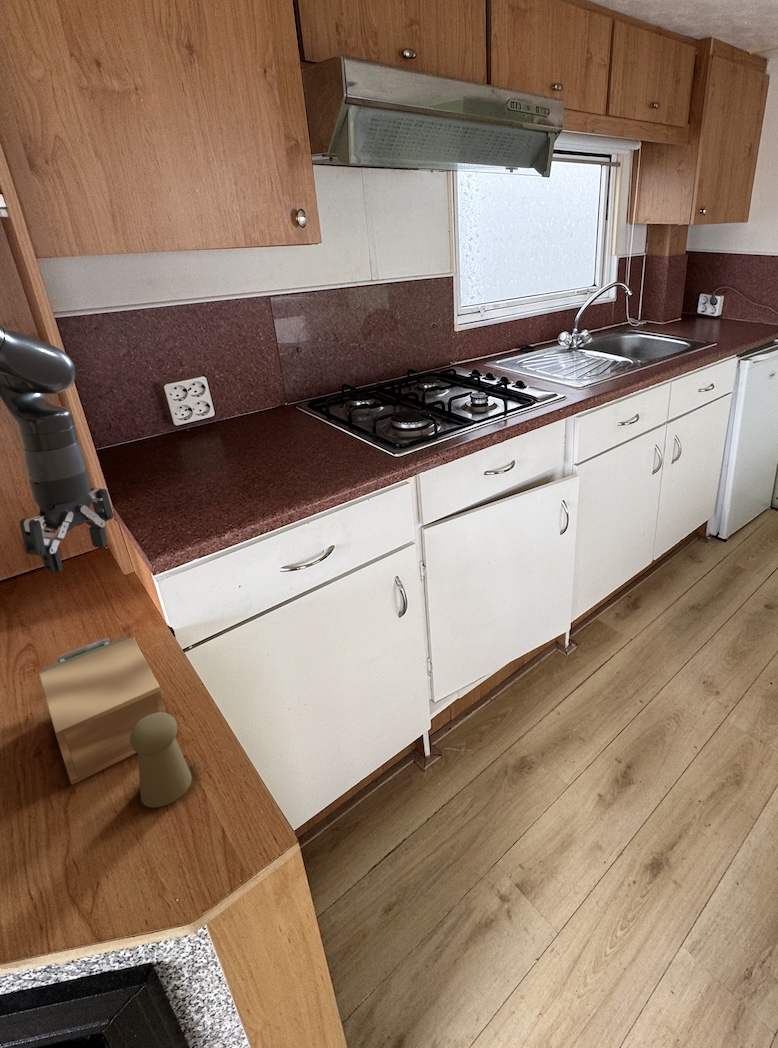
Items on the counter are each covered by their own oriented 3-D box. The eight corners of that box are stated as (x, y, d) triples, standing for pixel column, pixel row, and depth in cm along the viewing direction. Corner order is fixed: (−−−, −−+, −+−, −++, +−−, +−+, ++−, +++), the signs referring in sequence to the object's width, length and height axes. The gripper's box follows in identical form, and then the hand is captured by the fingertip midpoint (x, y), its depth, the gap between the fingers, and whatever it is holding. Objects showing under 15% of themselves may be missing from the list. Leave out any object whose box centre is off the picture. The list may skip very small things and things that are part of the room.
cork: (198, 786, 77) (185, 723, 74) (148, 816, 73) (131, 750, 70) (182, 759, 81) (169, 697, 78) (134, 786, 77) (117, 722, 74)
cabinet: (53, 721, 87) (38, 673, 84) (144, 682, 95) (133, 636, 92) (71, 785, 77) (55, 733, 74) (170, 735, 85) (159, 686, 82)
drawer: (48, 687, 92) (37, 649, 90) (126, 655, 100) (118, 620, 97) (70, 762, 80) (58, 721, 77) (158, 720, 87) (149, 681, 84)
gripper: (76, 453, 101) (95, 536, 106) (-7, 484, 87) (20, 578, 93) (113, 457, 99) (130, 541, 105) (34, 489, 86) (59, 584, 91)
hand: (78, 558), depth 99 cm, fingers open, 8 cm apart
